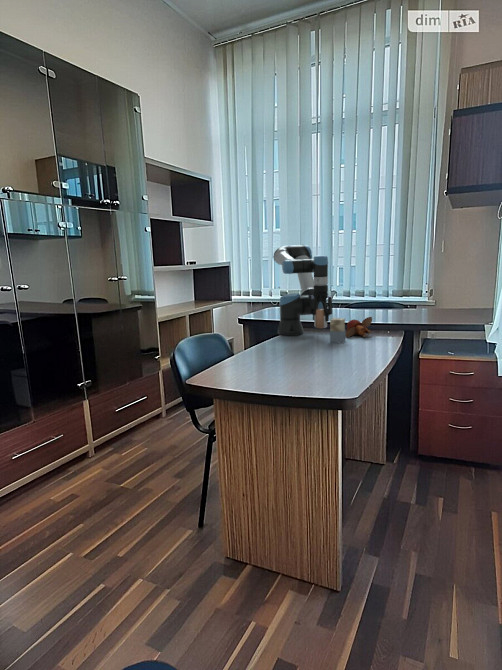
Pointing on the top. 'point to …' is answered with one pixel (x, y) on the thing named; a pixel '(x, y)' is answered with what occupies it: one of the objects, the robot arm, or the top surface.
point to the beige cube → (337, 324)
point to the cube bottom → (337, 336)
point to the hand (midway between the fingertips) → (320, 326)
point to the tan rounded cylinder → (320, 318)
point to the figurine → (358, 327)
